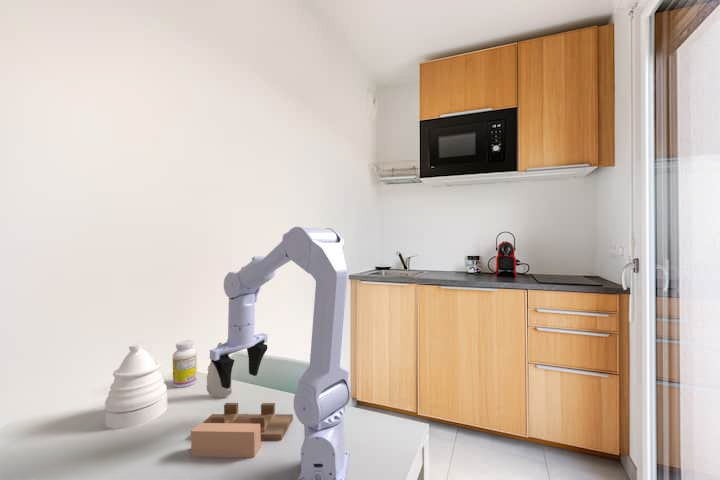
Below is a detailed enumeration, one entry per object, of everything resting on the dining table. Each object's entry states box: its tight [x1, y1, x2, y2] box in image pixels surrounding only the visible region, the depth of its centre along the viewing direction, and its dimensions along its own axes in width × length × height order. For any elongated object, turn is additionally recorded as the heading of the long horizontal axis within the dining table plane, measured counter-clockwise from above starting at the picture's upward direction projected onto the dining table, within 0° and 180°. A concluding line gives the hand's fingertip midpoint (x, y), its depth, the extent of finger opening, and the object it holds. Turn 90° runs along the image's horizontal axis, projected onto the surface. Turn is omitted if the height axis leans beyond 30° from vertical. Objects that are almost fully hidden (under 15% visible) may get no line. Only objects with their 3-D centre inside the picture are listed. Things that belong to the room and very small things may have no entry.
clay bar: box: [190, 422, 262, 458], centre depth 63 cm, size 3×13×5 cm, turn 85°
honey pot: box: [104, 343, 168, 430], centre depth 80 cm, size 13×13×18 cm
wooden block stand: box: [202, 402, 294, 441], centre depth 71 cm, size 8×20×4 cm, turn 85°
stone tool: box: [206, 342, 233, 399], centre depth 88 cm, size 9×3×15 cm, turn 75°
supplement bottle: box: [172, 339, 198, 388], centre depth 98 cm, size 7×7×13 cm
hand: (240, 380), depth 73 cm, fingers open, 7 cm apart
